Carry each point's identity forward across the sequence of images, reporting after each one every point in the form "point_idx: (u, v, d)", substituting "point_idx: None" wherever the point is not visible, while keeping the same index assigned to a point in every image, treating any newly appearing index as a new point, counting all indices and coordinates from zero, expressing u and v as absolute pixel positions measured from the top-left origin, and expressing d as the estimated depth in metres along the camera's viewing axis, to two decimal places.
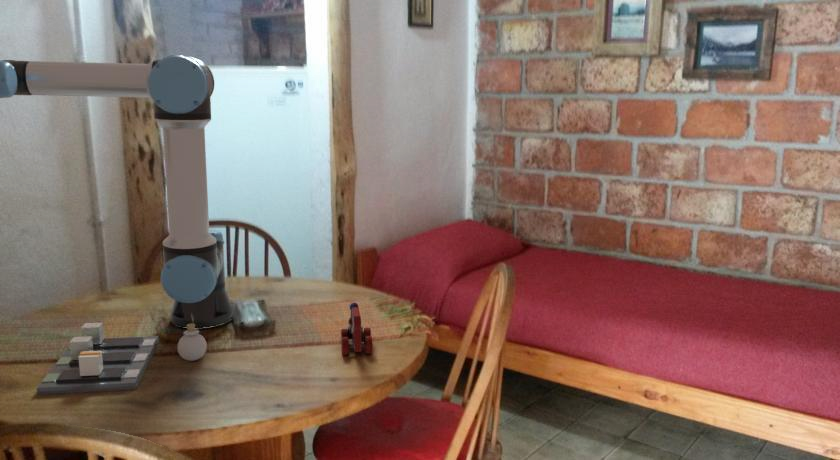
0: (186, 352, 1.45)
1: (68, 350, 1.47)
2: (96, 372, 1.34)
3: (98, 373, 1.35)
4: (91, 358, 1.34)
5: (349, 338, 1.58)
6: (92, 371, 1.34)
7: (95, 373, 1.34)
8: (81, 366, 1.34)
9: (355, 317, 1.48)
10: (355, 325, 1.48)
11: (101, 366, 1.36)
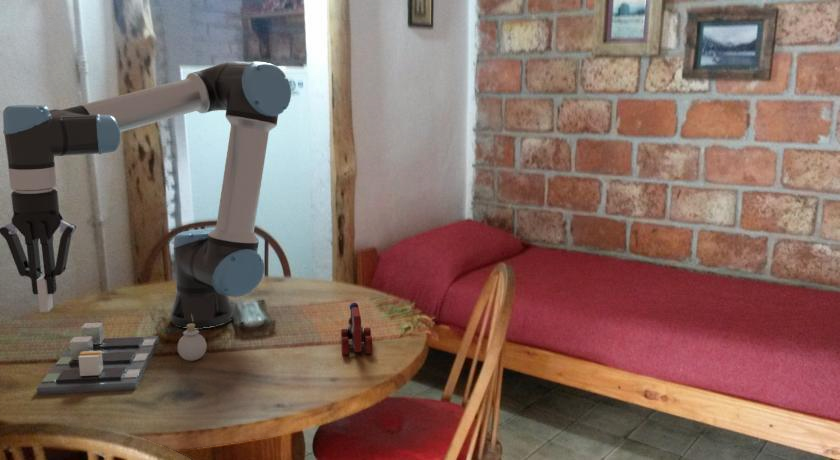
0: (186, 352, 1.45)
1: (68, 350, 1.47)
2: (96, 372, 1.34)
3: (98, 373, 1.35)
4: (91, 358, 1.34)
5: (349, 338, 1.58)
6: (92, 371, 1.34)
7: (95, 373, 1.34)
8: (81, 366, 1.34)
9: (355, 317, 1.48)
10: (355, 325, 1.48)
11: (101, 366, 1.36)
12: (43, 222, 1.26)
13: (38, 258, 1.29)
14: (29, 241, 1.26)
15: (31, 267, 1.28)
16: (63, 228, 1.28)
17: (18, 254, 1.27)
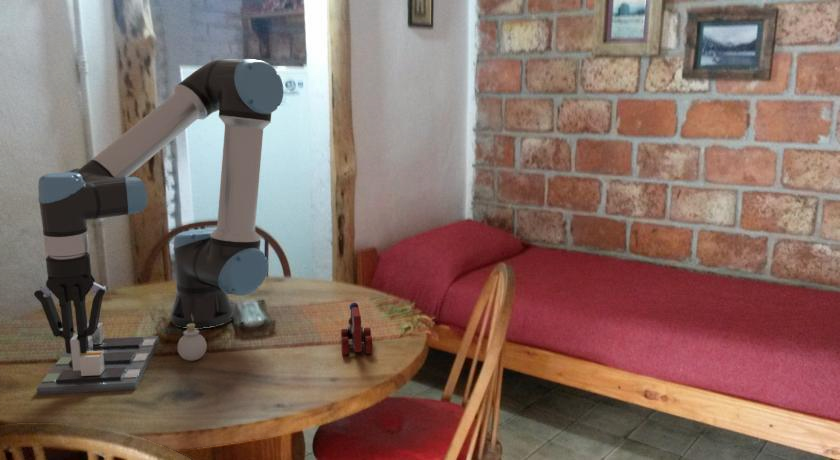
0: (186, 352, 1.45)
1: None
2: (97, 372, 1.34)
3: (99, 373, 1.35)
4: (92, 358, 1.34)
5: (349, 338, 1.58)
6: (93, 371, 1.34)
7: (96, 373, 1.34)
8: (82, 366, 1.34)
9: (355, 317, 1.48)
10: (355, 325, 1.48)
11: (102, 366, 1.36)
12: (76, 285, 1.30)
13: (71, 318, 1.33)
14: (63, 303, 1.30)
15: (65, 328, 1.32)
16: (95, 290, 1.32)
17: (52, 316, 1.31)
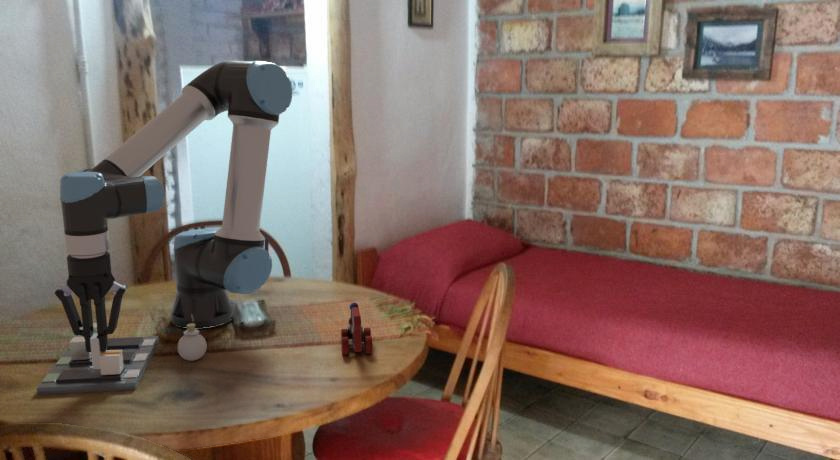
0: (186, 352, 1.45)
1: (68, 350, 1.47)
2: (117, 371, 1.35)
3: (119, 372, 1.35)
4: (112, 357, 1.34)
5: (349, 338, 1.58)
6: (113, 370, 1.35)
7: (116, 372, 1.35)
8: (102, 365, 1.34)
9: (355, 317, 1.48)
10: (355, 325, 1.48)
11: (121, 365, 1.37)
12: (97, 284, 1.30)
13: (91, 317, 1.34)
14: (83, 302, 1.30)
15: (85, 327, 1.32)
16: (115, 289, 1.32)
17: (73, 315, 1.31)
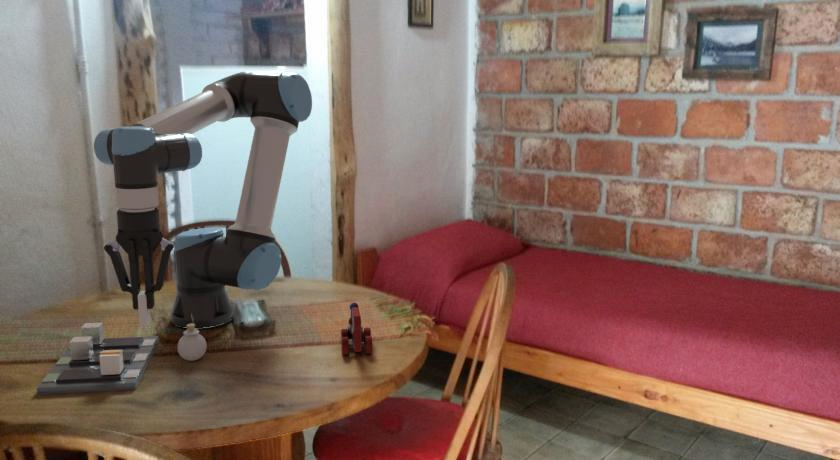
0: (186, 352, 1.45)
1: (68, 350, 1.47)
2: (117, 371, 1.35)
3: (119, 372, 1.35)
4: (112, 357, 1.34)
5: (349, 338, 1.58)
6: (113, 370, 1.35)
7: (116, 372, 1.35)
8: (102, 365, 1.34)
9: (355, 317, 1.48)
10: (355, 325, 1.48)
11: (121, 365, 1.37)
12: (146, 239, 1.30)
13: (138, 274, 1.33)
14: (132, 258, 1.30)
15: (133, 283, 1.32)
16: (164, 245, 1.32)
17: (121, 270, 1.31)
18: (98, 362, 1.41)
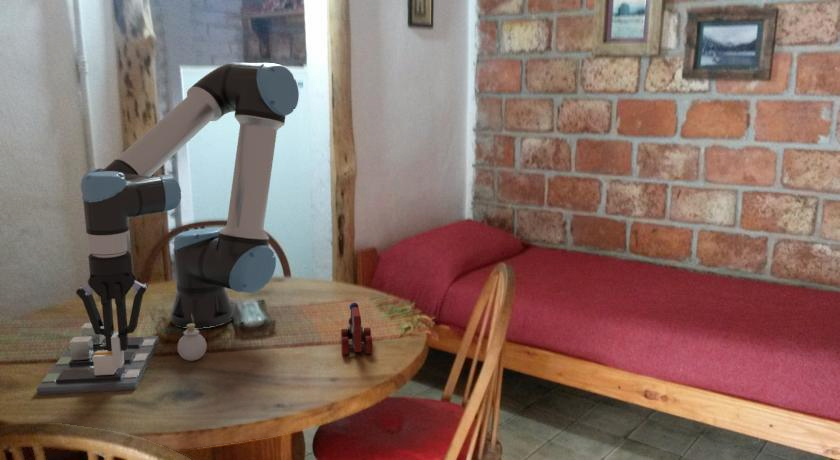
0: (186, 352, 1.45)
1: (68, 350, 1.47)
2: (110, 371, 1.35)
3: (112, 372, 1.35)
4: (105, 358, 1.34)
5: (349, 338, 1.58)
6: (106, 370, 1.35)
7: (109, 372, 1.35)
8: (96, 365, 1.34)
9: (355, 317, 1.48)
10: (355, 325, 1.48)
11: None
12: (118, 283, 1.31)
13: (112, 316, 1.34)
14: (104, 301, 1.31)
15: (106, 326, 1.33)
16: (136, 288, 1.33)
17: (94, 314, 1.32)
18: None
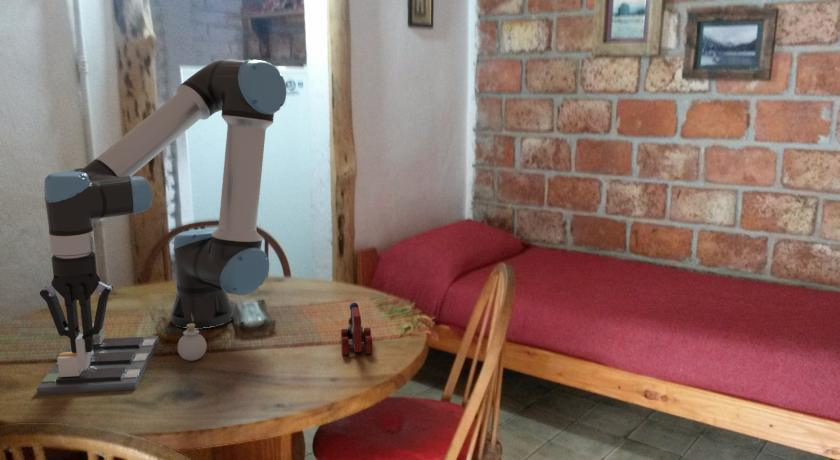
0: (186, 352, 1.45)
1: (68, 350, 1.47)
2: (75, 373, 1.34)
3: (77, 374, 1.34)
4: (70, 359, 1.33)
5: (349, 338, 1.58)
6: (71, 372, 1.34)
7: (74, 374, 1.34)
8: (60, 367, 1.33)
9: (355, 317, 1.48)
10: (355, 325, 1.48)
11: None
12: (82, 284, 1.30)
13: (76, 318, 1.33)
14: (68, 302, 1.30)
15: (70, 327, 1.32)
16: (101, 289, 1.32)
17: (58, 315, 1.31)
18: (98, 362, 1.41)
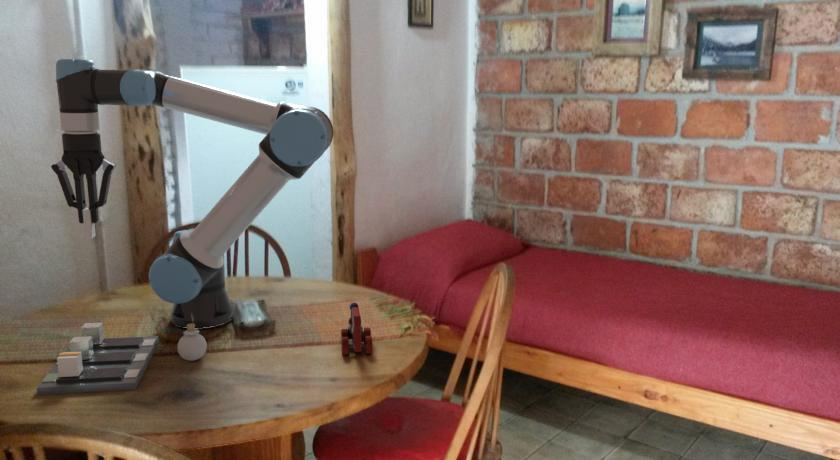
0: (186, 352, 1.45)
1: (68, 350, 1.47)
2: (75, 373, 1.34)
3: (77, 374, 1.34)
4: (70, 359, 1.33)
5: (349, 338, 1.58)
6: (71, 372, 1.34)
7: (74, 374, 1.34)
8: (60, 367, 1.33)
9: (355, 317, 1.48)
10: (355, 325, 1.48)
11: (80, 367, 1.35)
12: (88, 159, 1.47)
13: (83, 192, 1.51)
14: (76, 176, 1.47)
15: (78, 199, 1.49)
16: (105, 166, 1.49)
17: (67, 187, 1.48)
18: (98, 362, 1.41)
